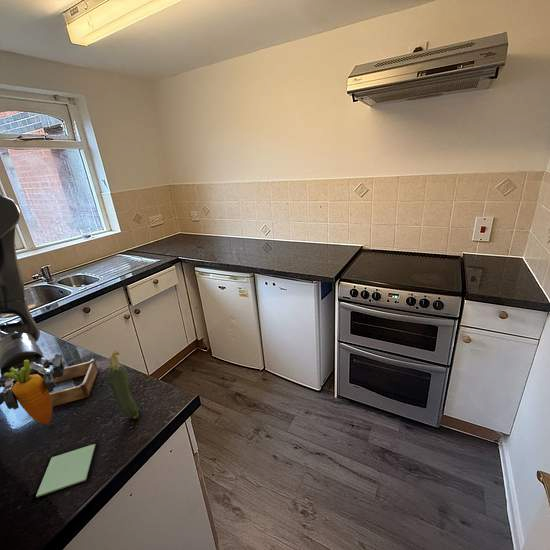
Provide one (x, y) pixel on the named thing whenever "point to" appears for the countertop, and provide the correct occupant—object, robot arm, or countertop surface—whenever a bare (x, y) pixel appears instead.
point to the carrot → (32, 393)
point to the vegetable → (121, 387)
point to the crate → (77, 391)
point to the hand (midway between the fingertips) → (32, 396)
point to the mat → (66, 470)
